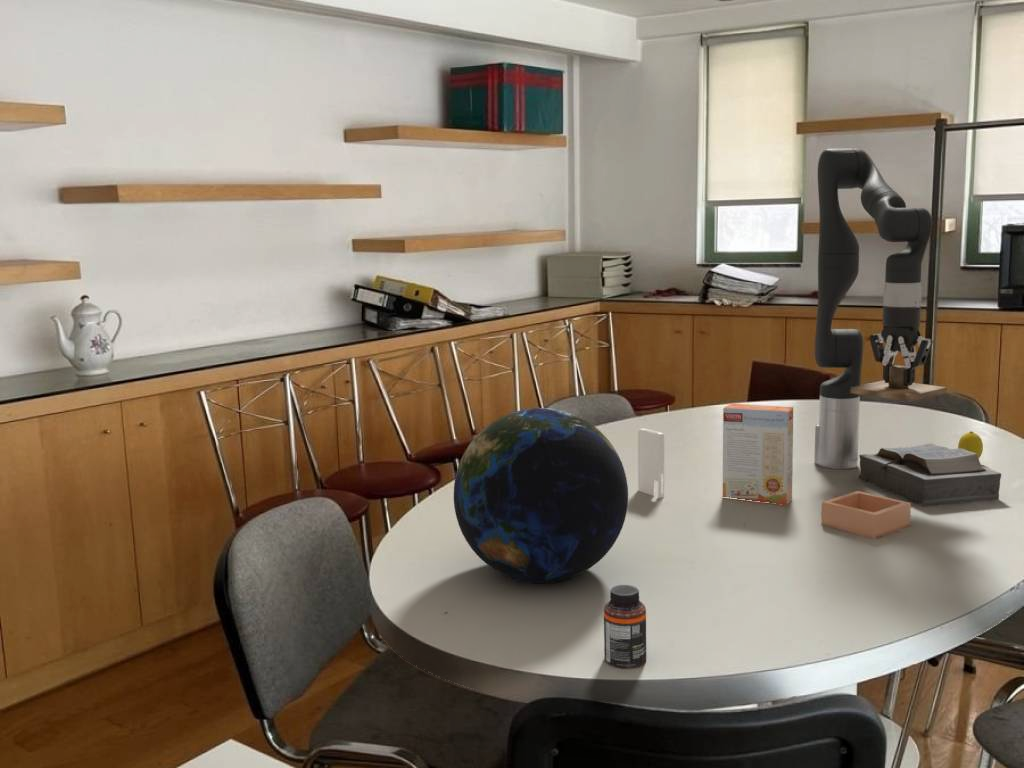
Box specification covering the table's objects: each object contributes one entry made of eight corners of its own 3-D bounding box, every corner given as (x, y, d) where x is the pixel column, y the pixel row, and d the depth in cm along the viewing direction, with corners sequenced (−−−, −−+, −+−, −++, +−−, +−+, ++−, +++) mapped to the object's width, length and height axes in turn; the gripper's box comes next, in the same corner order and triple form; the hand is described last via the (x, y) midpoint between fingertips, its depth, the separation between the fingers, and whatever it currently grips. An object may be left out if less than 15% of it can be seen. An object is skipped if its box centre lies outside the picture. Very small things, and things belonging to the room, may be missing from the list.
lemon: (984, 466, 252) (986, 434, 251) (959, 465, 253) (961, 433, 252) (979, 461, 257) (980, 429, 256) (955, 460, 259) (956, 428, 257)
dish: (821, 526, 209) (822, 502, 208) (856, 514, 217) (857, 490, 216) (874, 540, 200) (875, 515, 199) (909, 527, 207) (910, 502, 206)
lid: (850, 392, 226) (851, 367, 225) (887, 384, 234) (888, 359, 233) (909, 401, 215) (911, 374, 214) (946, 392, 223) (947, 366, 223)
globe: (656, 596, 174) (656, 419, 169) (481, 620, 166) (476, 434, 161) (592, 542, 203) (590, 389, 198) (439, 560, 194) (433, 400, 189)
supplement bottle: (617, 653, 153) (616, 578, 151) (654, 662, 149) (654, 586, 148) (596, 668, 148) (595, 591, 146) (634, 678, 145) (633, 600, 143)
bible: (901, 510, 220) (903, 464, 218) (851, 477, 246) (852, 436, 245) (1008, 506, 221) (1011, 460, 220) (947, 474, 248) (949, 433, 246)
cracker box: (792, 500, 227) (794, 405, 224) (786, 508, 222) (788, 411, 219) (728, 494, 234) (730, 401, 230) (721, 501, 228) (722, 406, 225)
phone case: (637, 494, 235) (637, 428, 233) (642, 493, 236) (642, 427, 233) (659, 501, 229) (659, 434, 226) (664, 500, 230) (664, 433, 227)
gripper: (861, 303, 225) (859, 382, 228) (923, 307, 214) (919, 390, 217) (881, 300, 229) (878, 378, 232) (943, 304, 218) (939, 385, 221)
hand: (898, 383), depth 224 cm, fingers closed on lid, 4 cm apart
